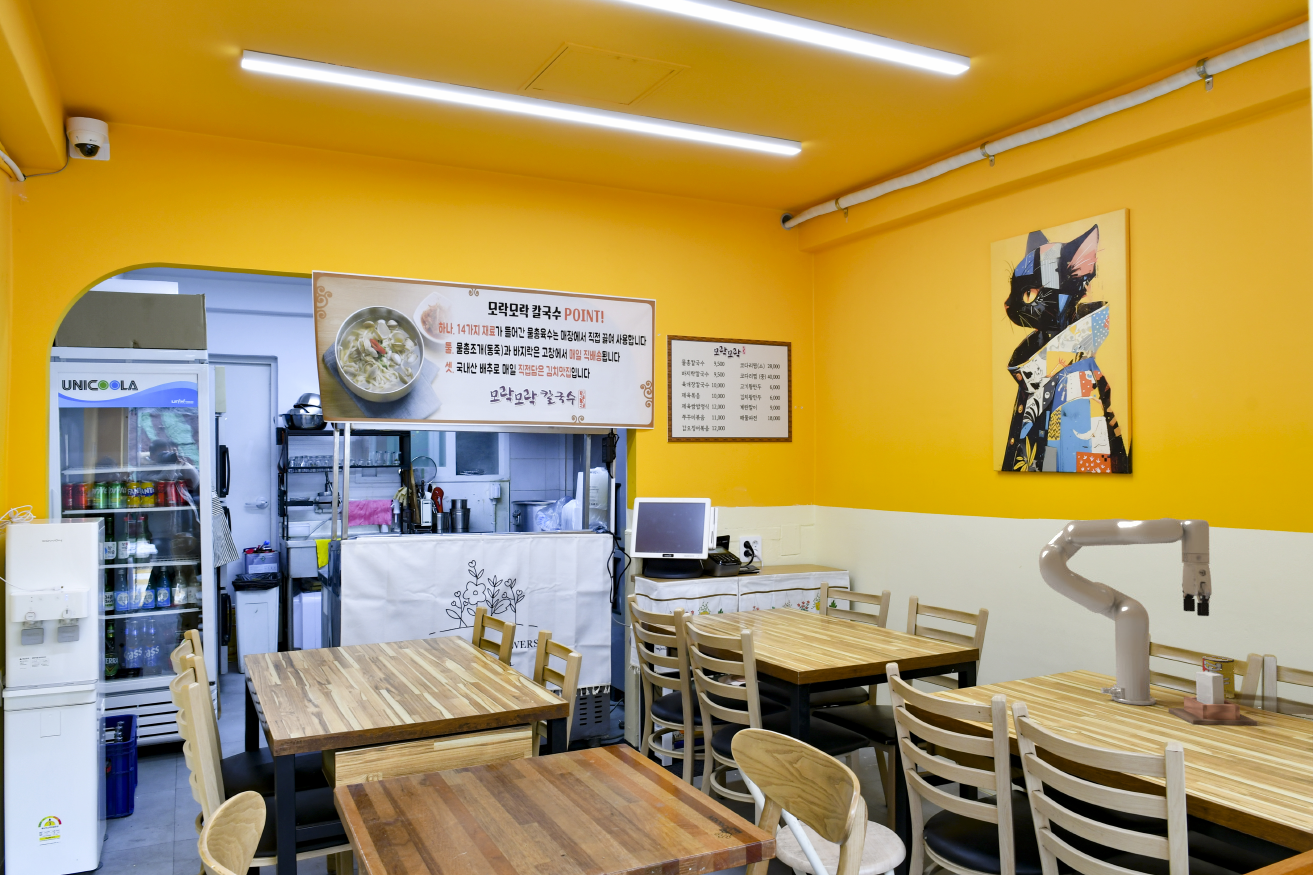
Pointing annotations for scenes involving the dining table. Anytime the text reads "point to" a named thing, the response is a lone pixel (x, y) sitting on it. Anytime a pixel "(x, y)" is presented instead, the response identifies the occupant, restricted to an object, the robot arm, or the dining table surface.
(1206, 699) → the skincare box
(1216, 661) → the beverage can
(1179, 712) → the caddy
